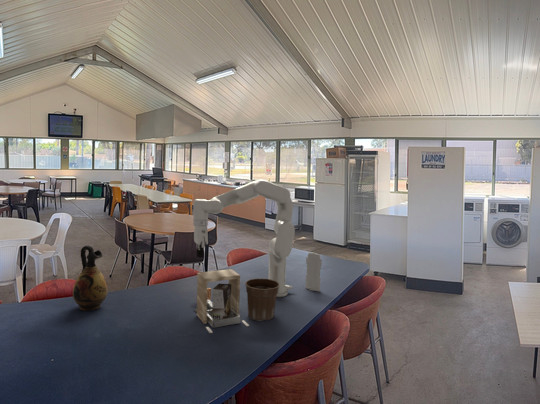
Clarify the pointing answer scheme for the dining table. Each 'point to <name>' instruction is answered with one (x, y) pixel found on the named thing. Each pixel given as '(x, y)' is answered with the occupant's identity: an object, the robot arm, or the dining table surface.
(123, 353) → the dining table surface
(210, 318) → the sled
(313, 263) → the tall pale column
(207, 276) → the tunnel
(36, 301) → the dining table surface
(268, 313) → the plant pot
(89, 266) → the ceramic jug
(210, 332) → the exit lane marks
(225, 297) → the coffee box
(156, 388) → the dining table surface
